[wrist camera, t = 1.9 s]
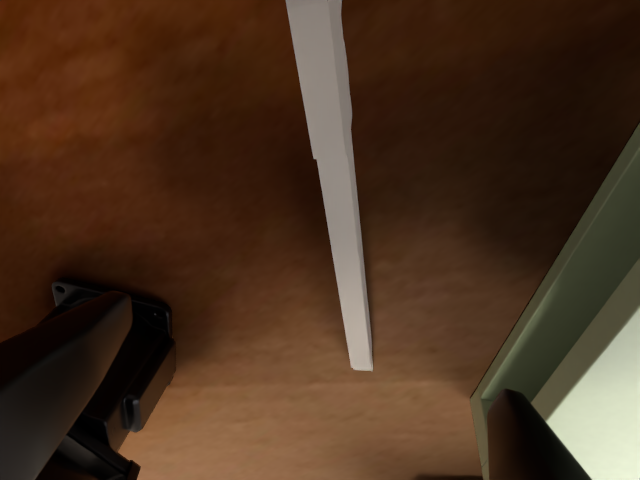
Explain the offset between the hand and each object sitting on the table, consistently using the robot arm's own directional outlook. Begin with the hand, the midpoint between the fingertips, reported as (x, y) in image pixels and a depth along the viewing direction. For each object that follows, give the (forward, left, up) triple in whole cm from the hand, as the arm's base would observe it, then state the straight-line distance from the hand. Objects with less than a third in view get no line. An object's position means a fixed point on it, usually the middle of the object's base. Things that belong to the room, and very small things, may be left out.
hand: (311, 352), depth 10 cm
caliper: (0, 0, -9) cm, 9 cm away
